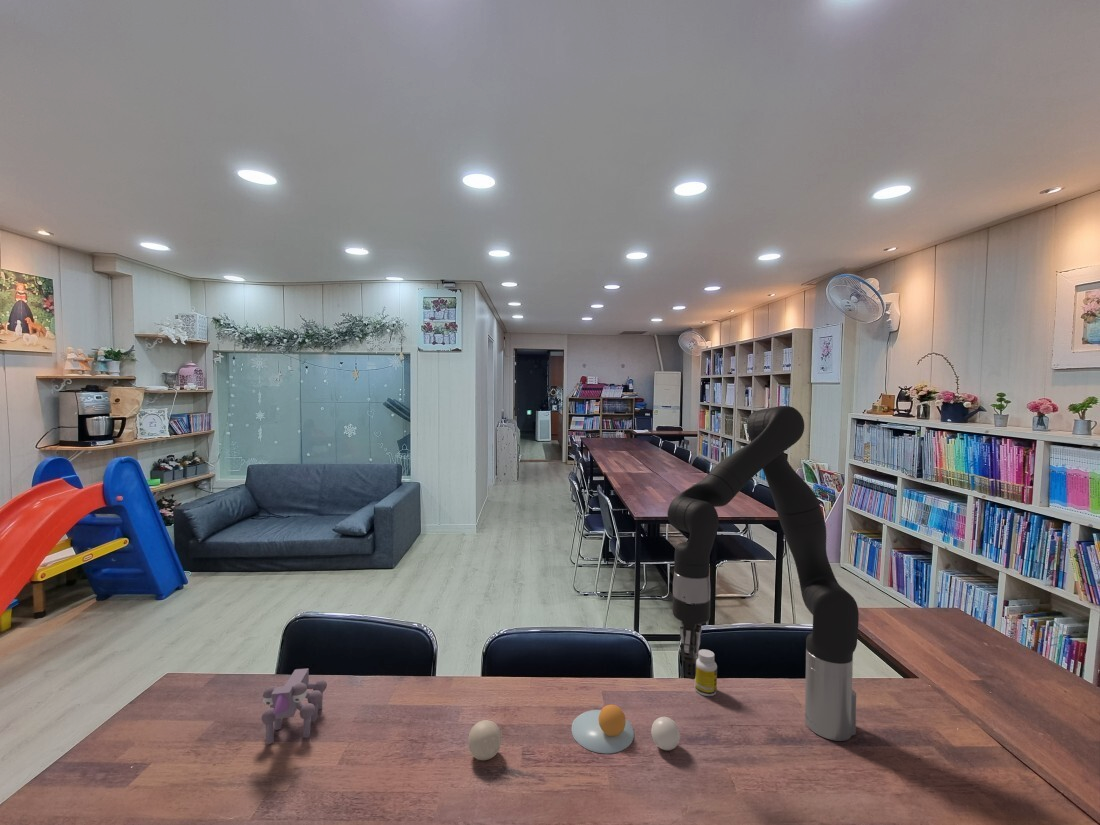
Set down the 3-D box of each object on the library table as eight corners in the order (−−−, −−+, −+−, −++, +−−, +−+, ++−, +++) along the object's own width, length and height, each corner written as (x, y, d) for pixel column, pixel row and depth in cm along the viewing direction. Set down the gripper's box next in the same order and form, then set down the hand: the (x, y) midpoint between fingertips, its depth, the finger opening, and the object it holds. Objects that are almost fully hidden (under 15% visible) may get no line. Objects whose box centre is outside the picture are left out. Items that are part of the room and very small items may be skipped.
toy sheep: (303, 766, 95) (299, 699, 94) (245, 776, 93) (241, 708, 92) (330, 704, 114) (327, 649, 114) (282, 711, 112) (279, 655, 112)
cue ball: (676, 712, 104) (657, 727, 106) (660, 709, 101) (641, 724, 103) (690, 742, 99) (670, 757, 101) (674, 739, 96) (653, 755, 98)
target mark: (624, 709, 114) (624, 708, 114) (641, 751, 100) (641, 750, 100) (567, 712, 112) (567, 711, 112) (576, 755, 98) (576, 754, 98)
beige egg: (475, 774, 93) (475, 741, 93) (464, 750, 99) (464, 719, 99) (506, 762, 96) (507, 730, 96) (494, 740, 103) (494, 710, 103)
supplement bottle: (718, 698, 118) (718, 659, 118) (695, 695, 119) (696, 657, 119) (715, 685, 124) (715, 649, 123) (693, 683, 125) (694, 646, 124)
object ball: (627, 703, 108) (604, 705, 110) (617, 703, 103) (592, 705, 106) (631, 735, 104) (607, 736, 107) (620, 736, 100) (595, 737, 102)
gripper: (678, 580, 105) (676, 657, 106) (667, 603, 93) (666, 689, 93) (713, 586, 102) (712, 665, 102) (706, 610, 90) (705, 699, 90)
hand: (690, 676), depth 98 cm, fingers closed
